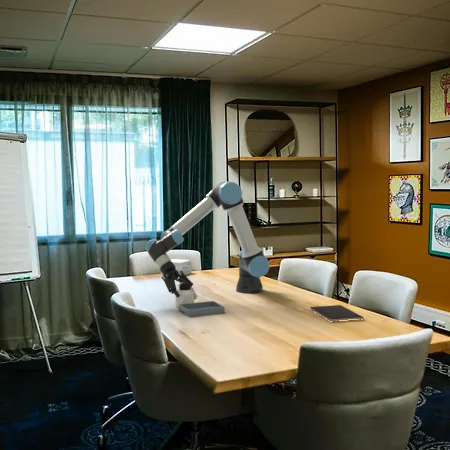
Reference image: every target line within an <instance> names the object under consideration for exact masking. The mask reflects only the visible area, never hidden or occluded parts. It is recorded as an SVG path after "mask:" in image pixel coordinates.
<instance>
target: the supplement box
mask: <svg viewBox="0 0 450 450" xmlns="http://www.w3.org/2000/svg"><path fill="white" fill-rule="evenodd" d="M170 259H171V261H172V262H173V264H174V265H175V267H176V270H177V271H178V272H180V271H183V273H184V275H185V276H186V275H189V274H191V273H192V260H191V259H177V258H176V259H175V258H173V259H172V258H170ZM160 274H161V275H163V274H162V272H161V271H160Z"/></svg>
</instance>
